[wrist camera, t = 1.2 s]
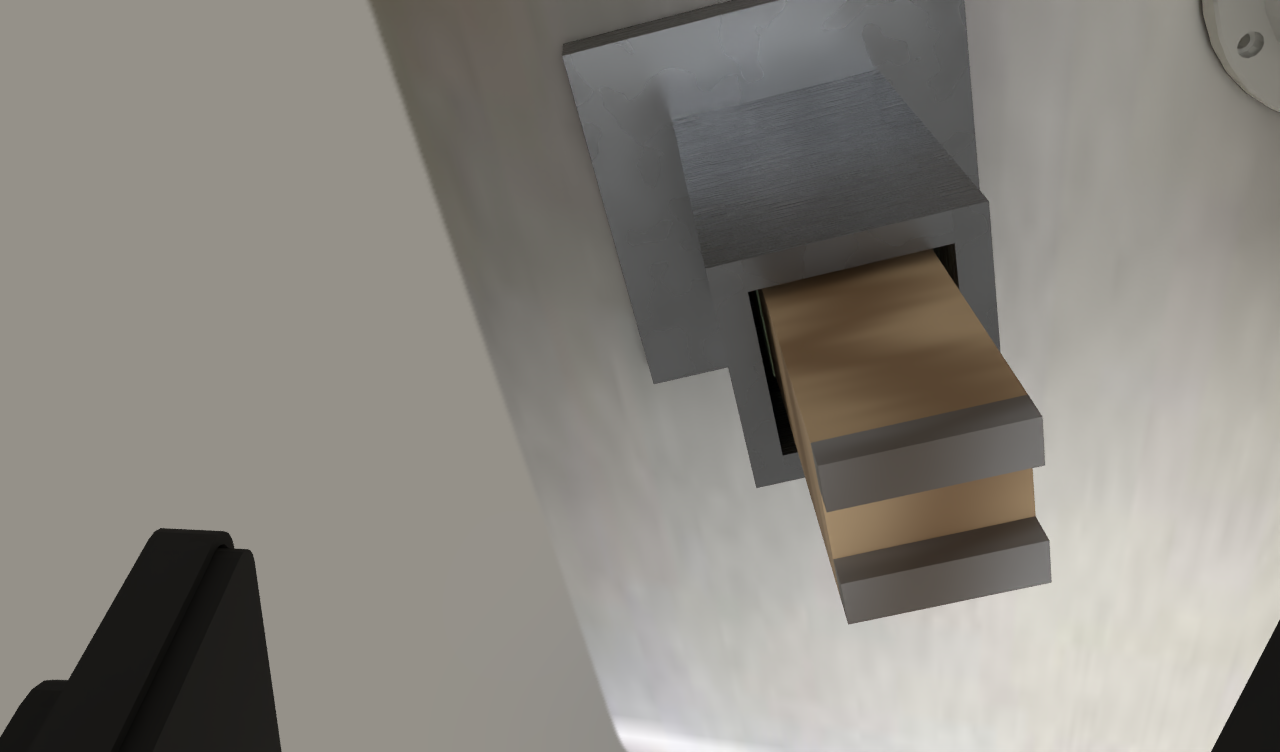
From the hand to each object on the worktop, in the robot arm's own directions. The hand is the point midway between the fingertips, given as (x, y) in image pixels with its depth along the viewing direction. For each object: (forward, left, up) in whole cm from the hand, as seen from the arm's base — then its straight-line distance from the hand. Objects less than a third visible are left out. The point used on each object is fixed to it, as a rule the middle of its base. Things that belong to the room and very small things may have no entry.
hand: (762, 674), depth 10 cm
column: (-8, +4, -28) cm, 30 cm away
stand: (-8, +4, -30) cm, 31 cm away
